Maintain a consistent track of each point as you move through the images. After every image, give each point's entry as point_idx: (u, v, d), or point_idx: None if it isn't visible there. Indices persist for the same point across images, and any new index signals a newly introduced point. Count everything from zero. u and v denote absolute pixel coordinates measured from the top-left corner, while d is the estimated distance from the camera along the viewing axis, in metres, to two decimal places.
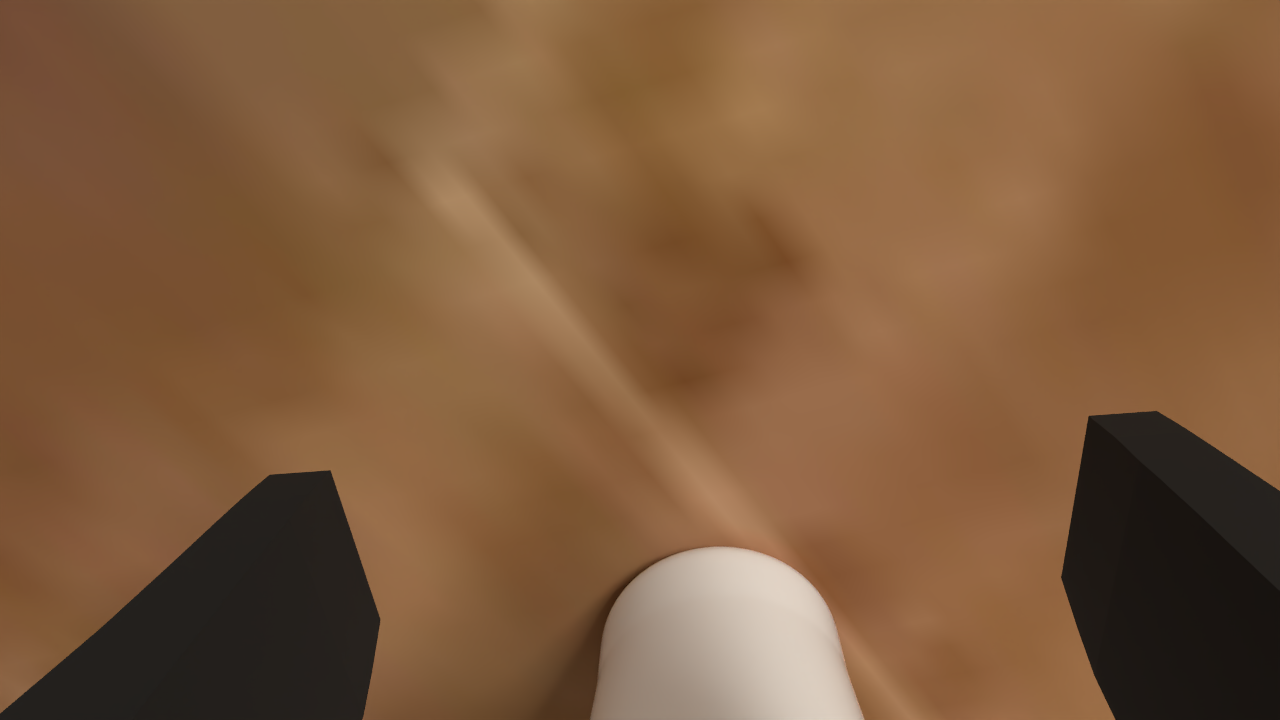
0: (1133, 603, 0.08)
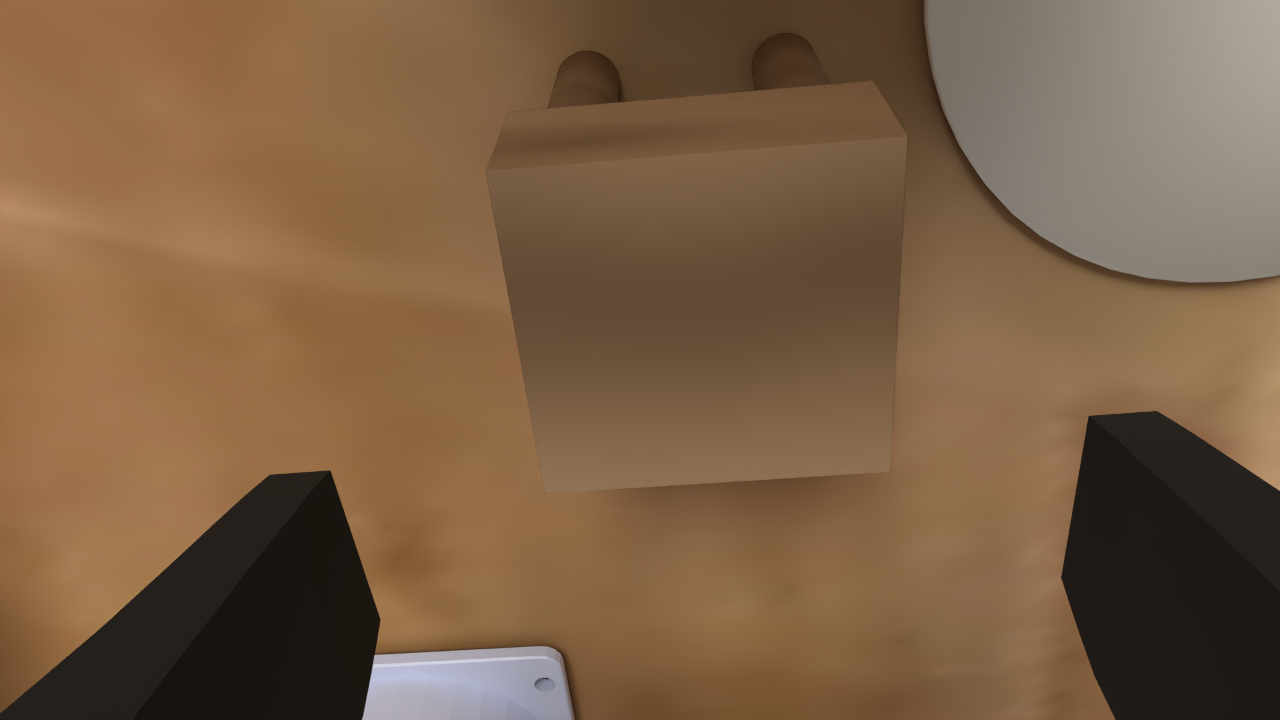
0: (1133, 603, 0.08)
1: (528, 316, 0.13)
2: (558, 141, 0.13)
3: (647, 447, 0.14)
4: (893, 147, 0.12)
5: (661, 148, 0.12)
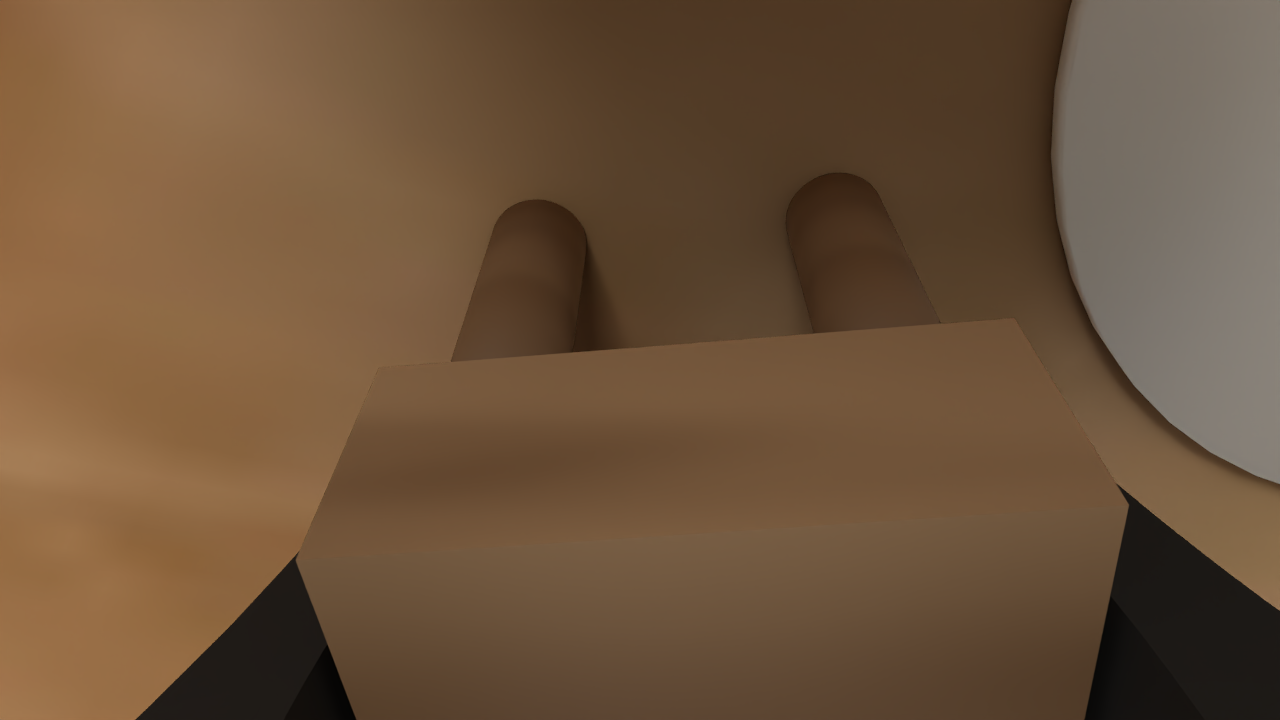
0: None
1: None
2: (448, 465, 0.07)
3: None
4: (1097, 522, 0.06)
5: (640, 509, 0.06)
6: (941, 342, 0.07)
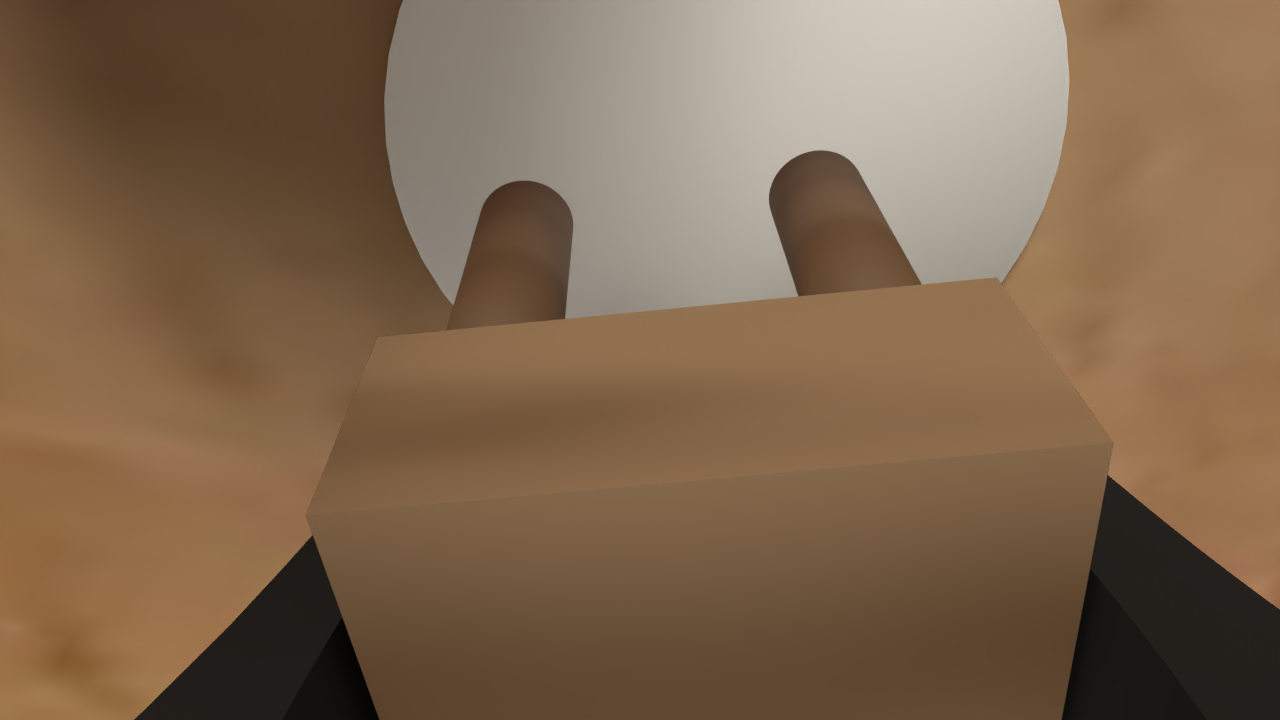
0: None
1: None
2: (453, 424, 0.07)
3: None
4: (1084, 460, 0.06)
5: (641, 459, 0.06)
6: (928, 301, 0.08)
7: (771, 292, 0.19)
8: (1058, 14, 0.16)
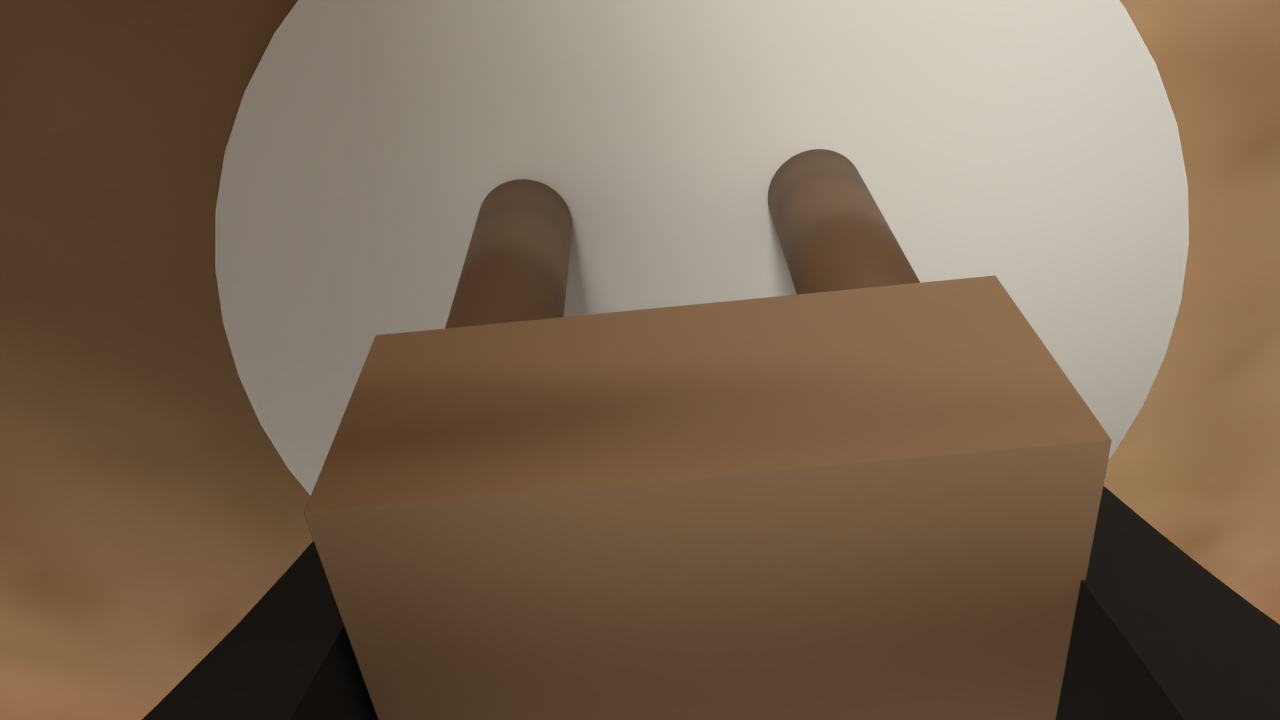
0: None
1: None
2: (450, 421, 0.07)
3: None
4: (1082, 458, 0.06)
5: (640, 458, 0.06)
6: (926, 299, 0.08)
7: None
8: (1178, 157, 0.11)
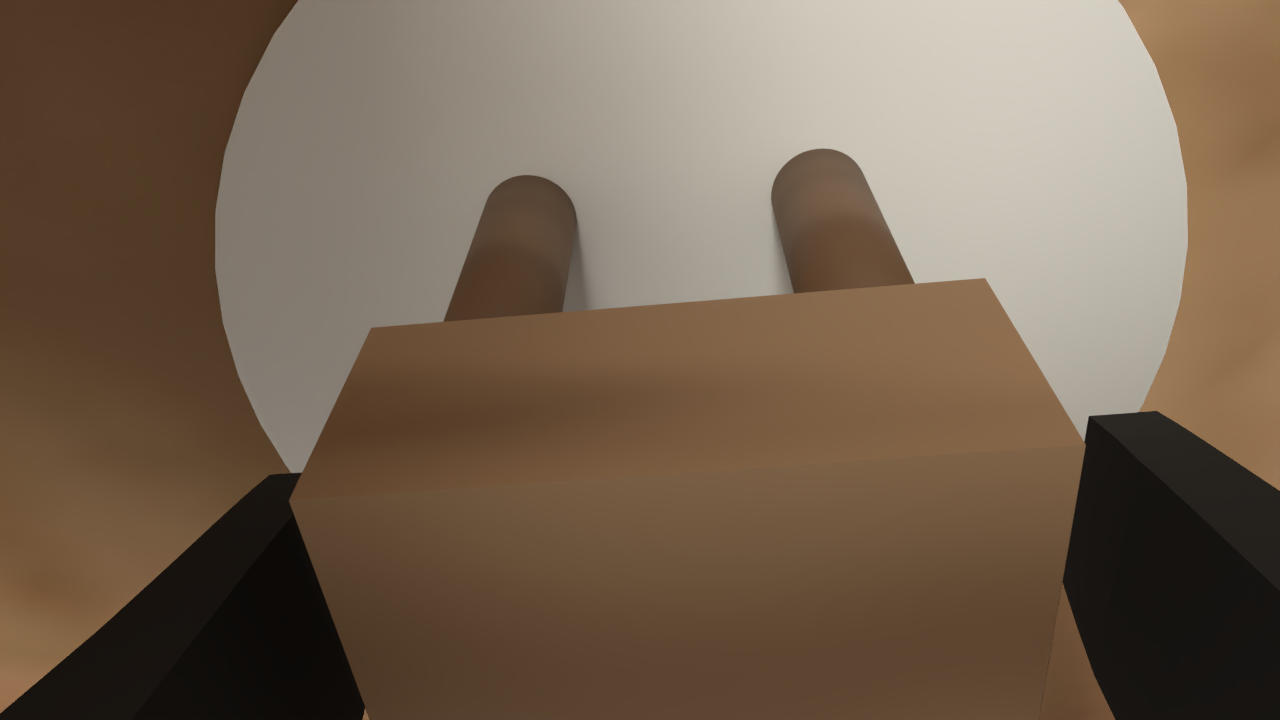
0: (1133, 603, 0.08)
1: (393, 707, 0.07)
2: (437, 414, 0.07)
3: None
4: (1056, 462, 0.06)
5: (618, 452, 0.07)
6: (914, 300, 0.08)
7: None
8: (1177, 157, 0.11)
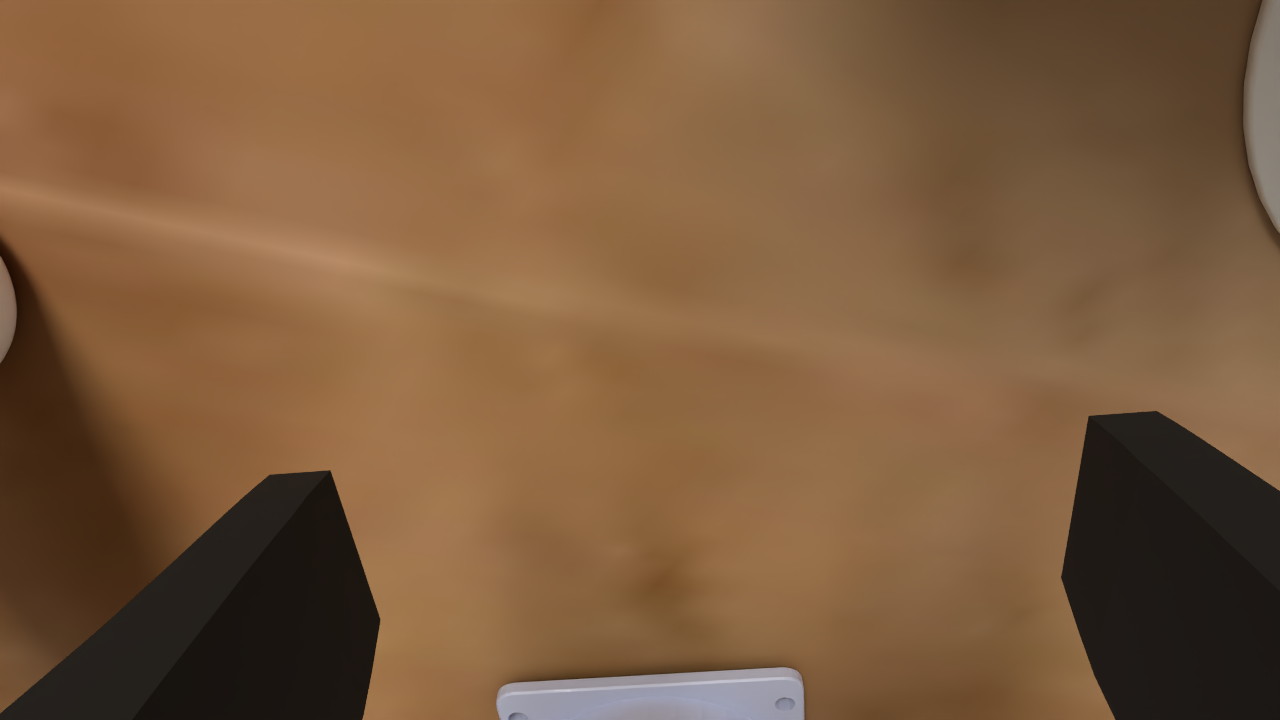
0: (1133, 603, 0.08)
1: None
2: None
3: None
4: None
5: None
6: None
7: None
8: None
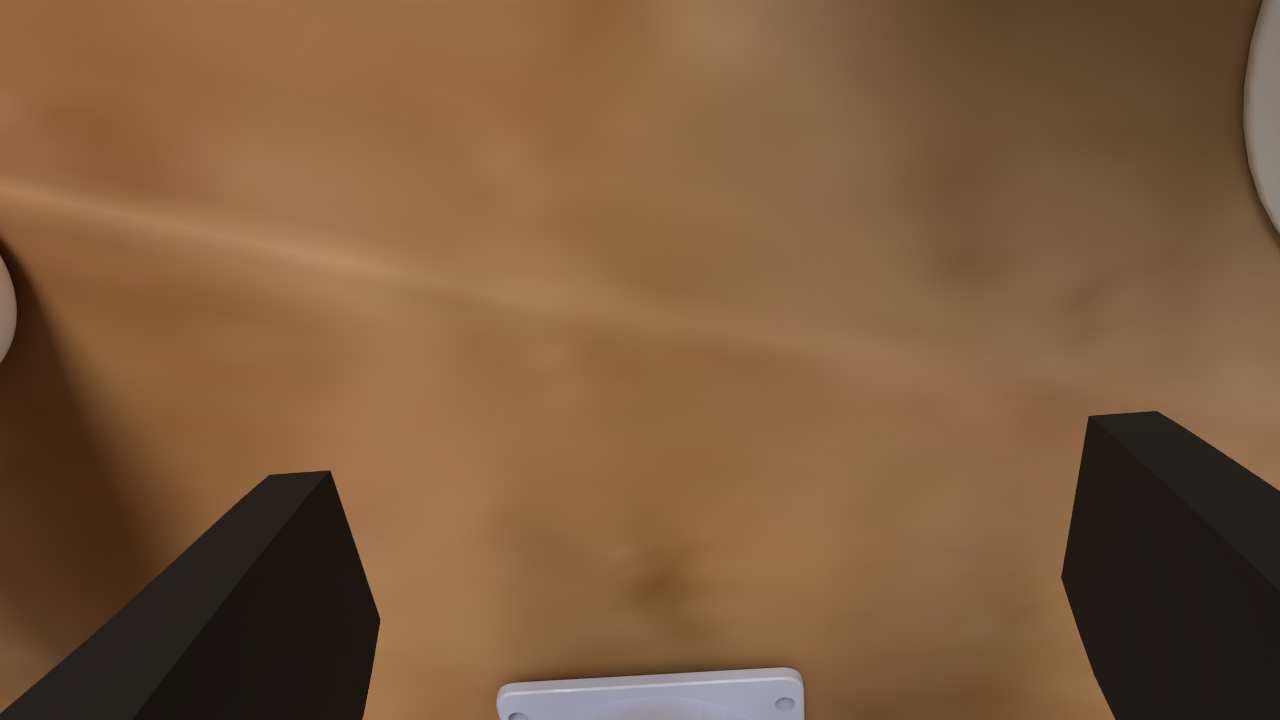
0: (1133, 603, 0.08)
1: None
2: None
3: None
4: None
5: None
6: None
7: None
8: None
